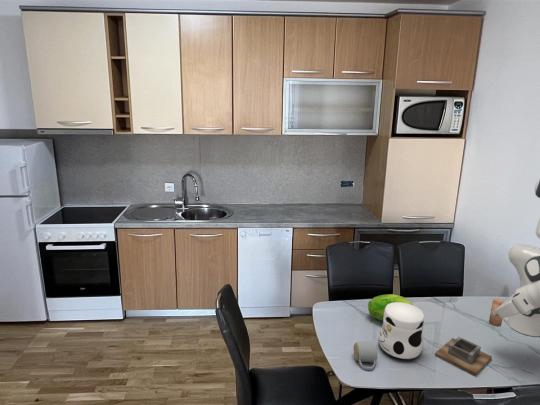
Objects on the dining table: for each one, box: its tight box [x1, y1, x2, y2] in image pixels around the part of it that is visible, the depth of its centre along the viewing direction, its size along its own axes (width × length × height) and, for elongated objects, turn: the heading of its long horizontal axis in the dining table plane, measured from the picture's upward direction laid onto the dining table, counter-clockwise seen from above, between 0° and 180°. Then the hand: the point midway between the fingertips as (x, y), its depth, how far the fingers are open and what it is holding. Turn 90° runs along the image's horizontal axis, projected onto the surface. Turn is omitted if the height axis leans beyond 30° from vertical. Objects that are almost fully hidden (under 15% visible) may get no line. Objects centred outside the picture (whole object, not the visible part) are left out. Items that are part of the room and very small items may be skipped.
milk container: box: [378, 302, 425, 360], centre depth 161 cm, size 17×17×18 cm
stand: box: [434, 336, 492, 377], centre depth 159 cm, size 16×16×6 cm
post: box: [488, 298, 505, 328], centre depth 159 cm, size 4×4×10 cm
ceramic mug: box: [353, 340, 378, 371], centre depth 154 cm, size 11×8×8 cm
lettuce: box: [367, 293, 413, 322], centre depth 185 cm, size 13×23×12 cm, turn 103°
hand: (495, 310), depth 160 cm, fingers closed on post, 4 cm apart
